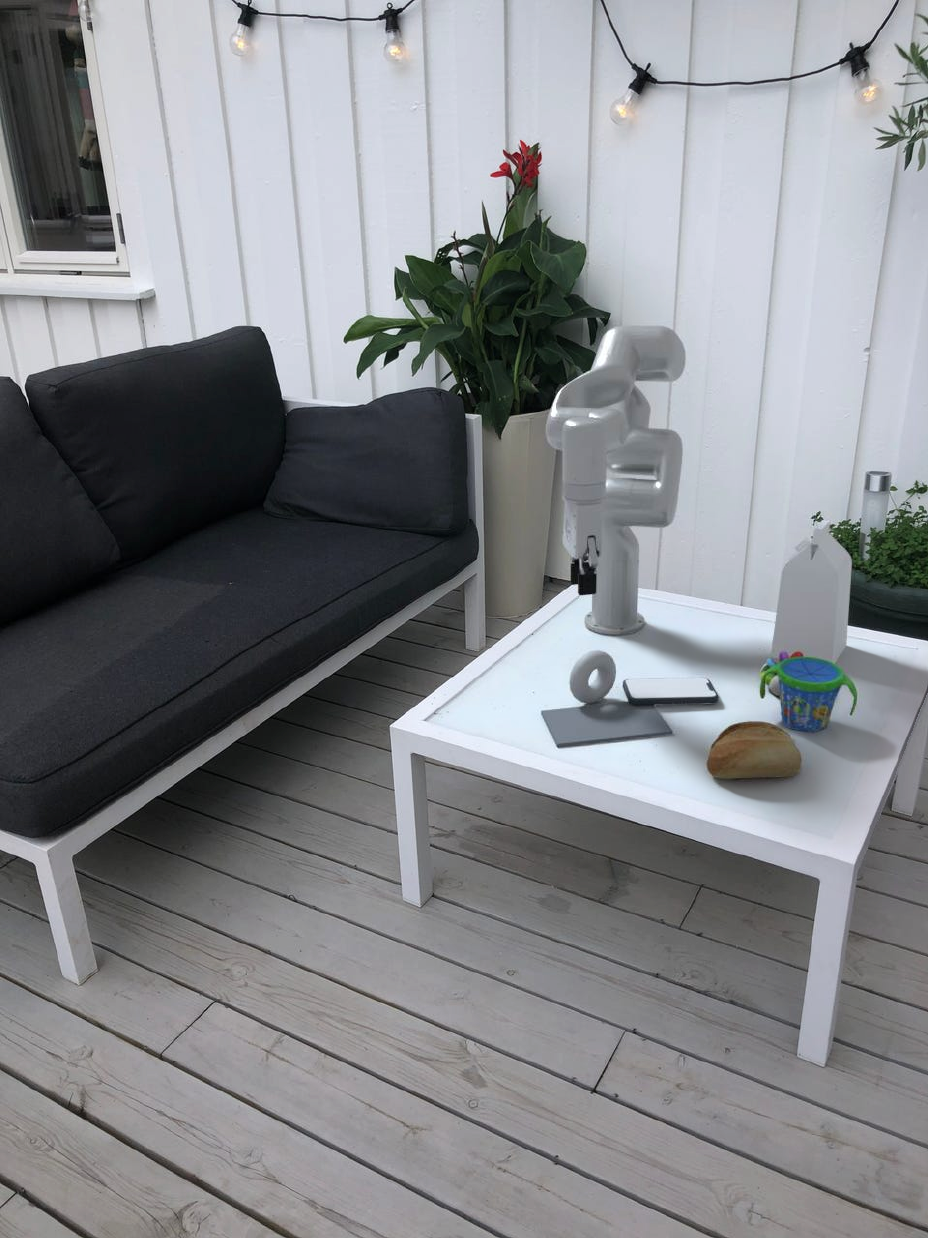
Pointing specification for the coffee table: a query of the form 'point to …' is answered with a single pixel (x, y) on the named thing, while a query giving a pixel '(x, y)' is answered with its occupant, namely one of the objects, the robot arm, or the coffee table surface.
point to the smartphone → (670, 691)
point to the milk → (814, 599)
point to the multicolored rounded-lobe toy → (773, 677)
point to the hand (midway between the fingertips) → (583, 587)
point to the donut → (583, 672)
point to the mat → (604, 723)
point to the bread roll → (753, 752)
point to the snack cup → (808, 691)
